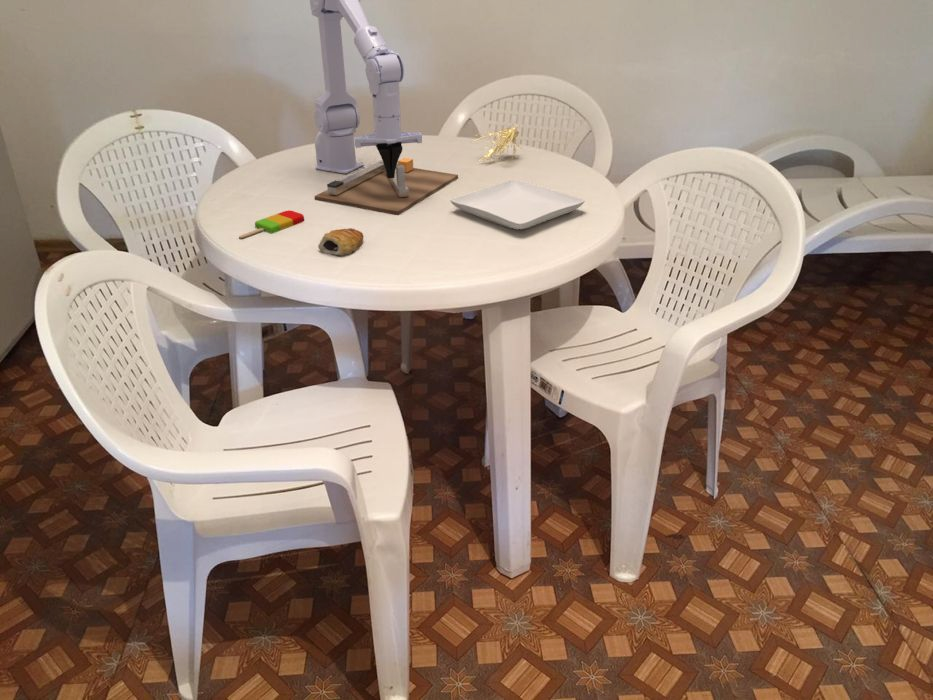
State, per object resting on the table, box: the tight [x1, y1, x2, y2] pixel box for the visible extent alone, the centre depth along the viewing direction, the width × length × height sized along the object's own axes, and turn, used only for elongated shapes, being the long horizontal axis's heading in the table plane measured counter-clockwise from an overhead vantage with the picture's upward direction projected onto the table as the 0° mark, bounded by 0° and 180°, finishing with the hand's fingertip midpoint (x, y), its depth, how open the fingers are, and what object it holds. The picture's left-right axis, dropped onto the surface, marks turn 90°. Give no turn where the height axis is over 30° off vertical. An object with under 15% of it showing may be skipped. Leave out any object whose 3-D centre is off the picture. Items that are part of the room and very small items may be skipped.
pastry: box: [317, 227, 364, 256], centre depth 139 cm, size 9×7×4 cm
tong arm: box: [385, 165, 409, 197], centre depth 167 cm, size 18×2×6 cm, turn 15°
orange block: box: [398, 157, 414, 172], centre depth 177 cm, size 3×2×2 cm
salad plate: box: [450, 178, 586, 230], centre depth 155 cm, size 21×21×3 cm
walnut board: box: [313, 167, 459, 216], centre depth 169 cm, size 28×22×1 cm
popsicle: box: [238, 210, 305, 239], centre depth 148 cm, size 6×15×2 cm, turn 142°
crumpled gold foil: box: [471, 123, 523, 163], centre depth 186 cm, size 11×15×9 cm
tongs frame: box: [326, 159, 398, 195], centre depth 171 cm, size 24×5×2 cm, turn 153°
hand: (390, 176), depth 161 cm, fingers closed
